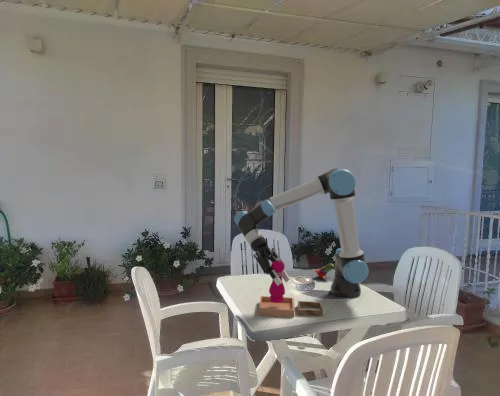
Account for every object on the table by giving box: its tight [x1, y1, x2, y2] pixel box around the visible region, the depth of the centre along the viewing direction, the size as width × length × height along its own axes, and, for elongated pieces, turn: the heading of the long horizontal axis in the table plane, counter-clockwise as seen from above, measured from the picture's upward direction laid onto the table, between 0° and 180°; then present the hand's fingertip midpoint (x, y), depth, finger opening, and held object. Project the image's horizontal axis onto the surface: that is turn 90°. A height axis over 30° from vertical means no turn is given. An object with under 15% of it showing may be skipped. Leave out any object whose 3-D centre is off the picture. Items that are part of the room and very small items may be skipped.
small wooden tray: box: [297, 300, 324, 317], centre depth 178 cm, size 11×11×2 cm
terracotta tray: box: [257, 295, 295, 318], centre depth 179 cm, size 16×16×3 cm
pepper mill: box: [268, 257, 286, 303], centre depth 178 cm, size 7×7×20 cm
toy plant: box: [315, 262, 335, 280], centre depth 227 cm, size 8×10×12 cm
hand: (283, 282), depth 176 cm, fingers closed on pepper mill, 6 cm apart
